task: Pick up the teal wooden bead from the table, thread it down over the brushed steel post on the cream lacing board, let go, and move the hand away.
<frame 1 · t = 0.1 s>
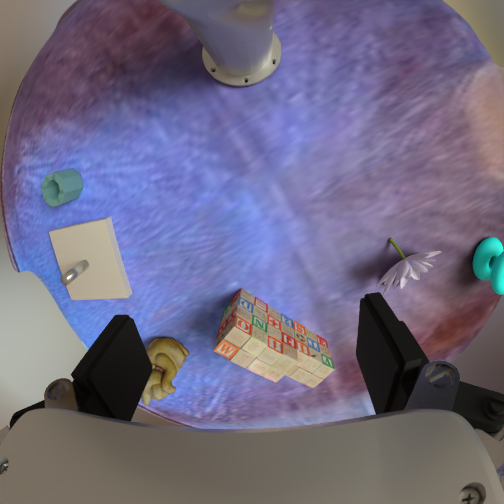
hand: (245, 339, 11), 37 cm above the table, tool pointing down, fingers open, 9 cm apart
decorative figurine: (168, 346, 58), on the table
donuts: (484, 256, 47), on the table
water lily: (396, 261, 48), on the table
stack of blocks: (277, 325, 54), on the table
board: (90, 260, 51), on the table
bead: (71, 184, 45), on the table
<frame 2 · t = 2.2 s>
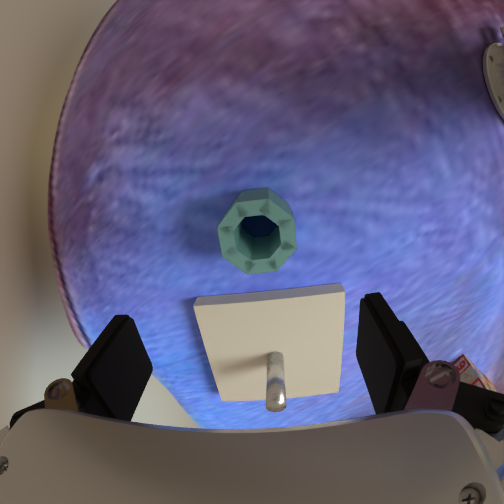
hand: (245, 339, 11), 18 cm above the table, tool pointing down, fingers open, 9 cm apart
stack of blocks: (469, 381, 37), on the table
board: (275, 346, 33), on the table
bead: (259, 219, 28), on the table
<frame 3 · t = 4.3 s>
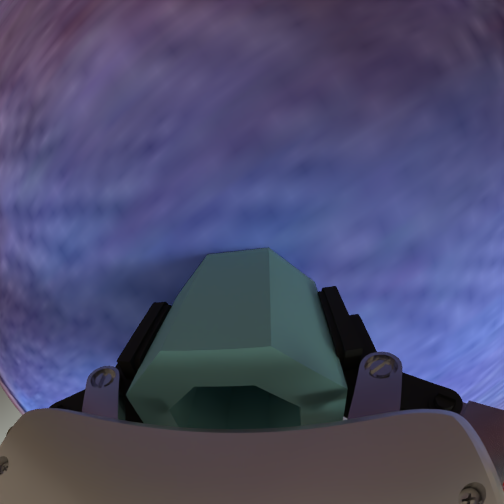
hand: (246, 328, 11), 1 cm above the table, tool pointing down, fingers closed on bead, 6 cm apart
bead: (248, 313, 12), on the table, touching gripper
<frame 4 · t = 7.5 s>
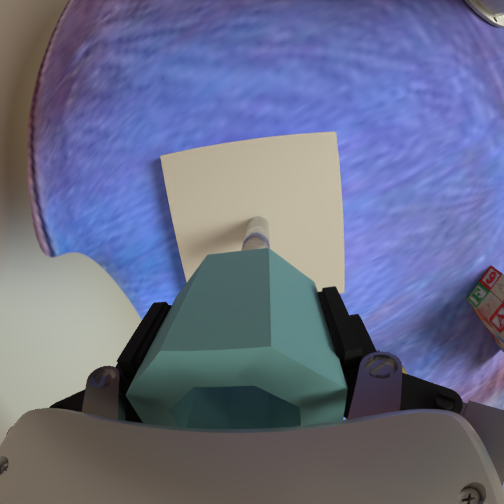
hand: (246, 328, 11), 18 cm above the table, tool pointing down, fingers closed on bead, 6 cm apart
stack of blocks: (497, 313, 31), on the table
board: (258, 221, 28), on the table
bead: (247, 314, 12), point 17 cm above the table, touching gripper
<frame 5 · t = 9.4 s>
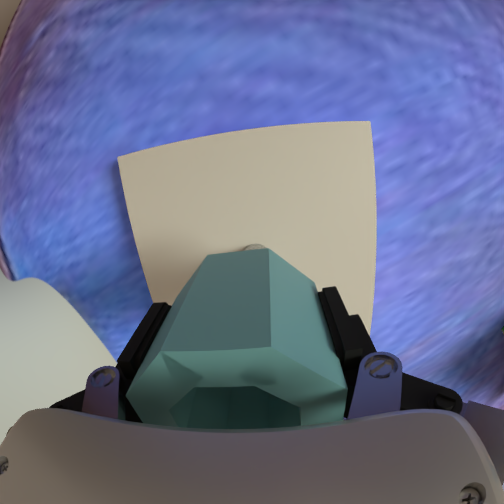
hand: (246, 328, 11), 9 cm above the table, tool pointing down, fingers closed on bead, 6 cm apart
board: (257, 247, 20), on the table
bead: (247, 314, 12), point 8 cm above the table, touching gripper
when the fingers open (5 cm above the table, at t = 10.9 s): bead drops 2 cm, resting on board.
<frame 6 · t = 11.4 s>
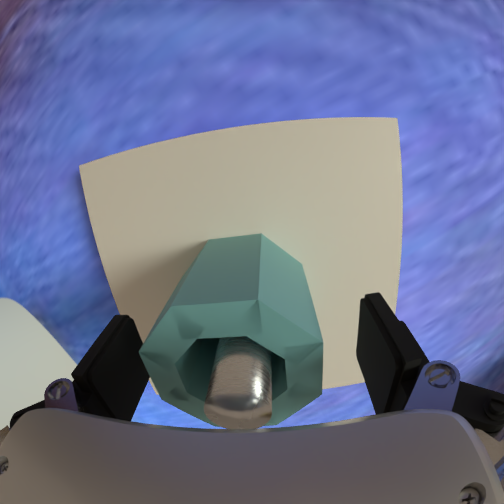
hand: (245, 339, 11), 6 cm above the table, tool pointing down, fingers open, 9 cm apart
board: (252, 275, 16), on the table
bead: (244, 292, 14), point 2 cm above the table, touching board
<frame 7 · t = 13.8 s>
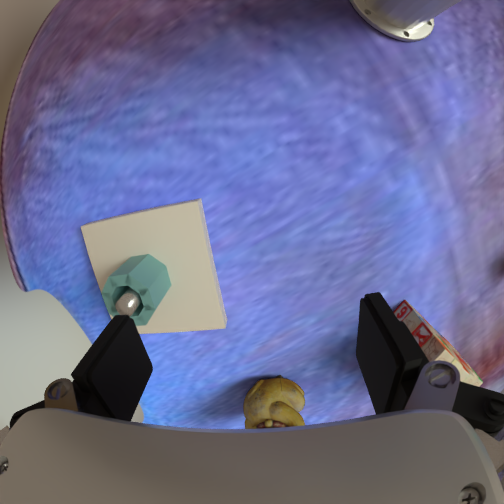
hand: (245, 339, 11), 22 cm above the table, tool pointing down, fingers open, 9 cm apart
decorative figurine: (270, 387, 41), on the table
stack of blocks: (423, 342, 38), on the table
board: (154, 271, 35), on the table
bead: (146, 278, 33), point 2 cm above the table, touching board
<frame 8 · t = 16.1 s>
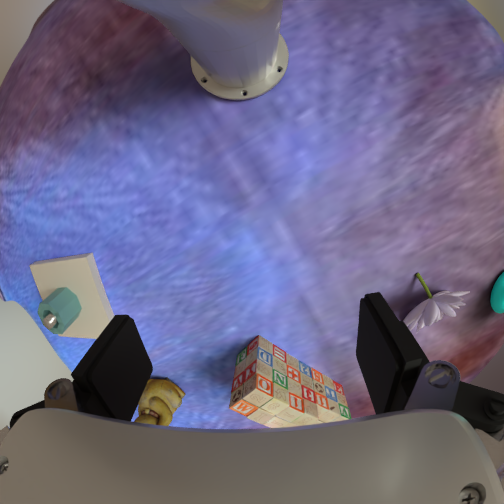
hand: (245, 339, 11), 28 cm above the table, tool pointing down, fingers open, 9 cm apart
decorative figurine: (163, 385, 51), on the table
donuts: (502, 287, 40), on the table
water lily: (419, 297, 42), on the table
stack of blocks: (293, 371, 48), on the table
board: (74, 297, 45), on the table
bead: (68, 302, 43), point 2 cm above the table, touching board
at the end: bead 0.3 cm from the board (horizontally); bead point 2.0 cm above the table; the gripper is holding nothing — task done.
